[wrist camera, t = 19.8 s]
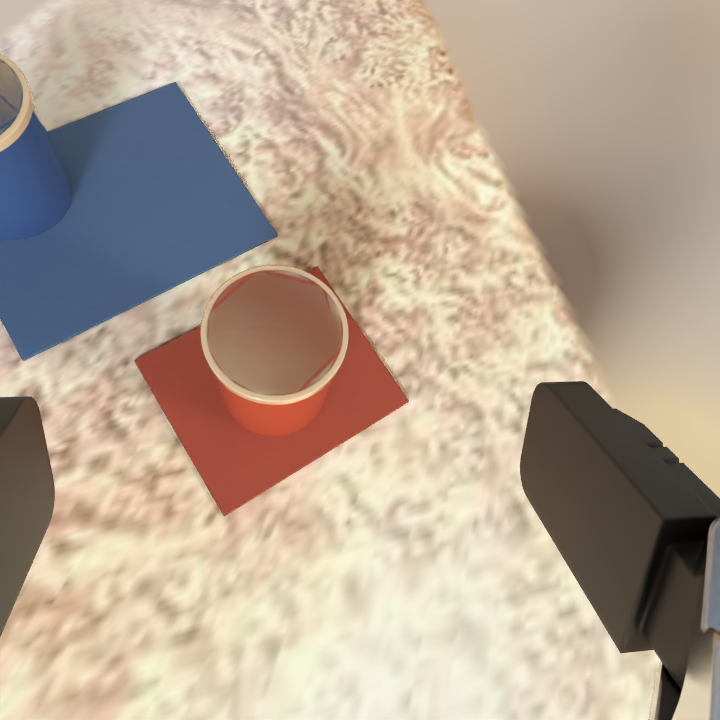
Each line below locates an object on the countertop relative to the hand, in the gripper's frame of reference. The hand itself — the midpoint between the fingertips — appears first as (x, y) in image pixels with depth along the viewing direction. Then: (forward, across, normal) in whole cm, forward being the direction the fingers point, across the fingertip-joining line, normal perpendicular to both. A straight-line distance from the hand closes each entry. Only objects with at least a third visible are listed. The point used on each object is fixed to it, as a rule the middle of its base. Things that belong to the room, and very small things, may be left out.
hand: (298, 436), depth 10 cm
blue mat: (+31, +10, +4) cm, 33 cm away
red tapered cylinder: (+23, 0, +11) cm, 26 cm away
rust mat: (+23, 0, +11) cm, 26 cm away
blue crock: (+32, +15, +3) cm, 35 cm away
